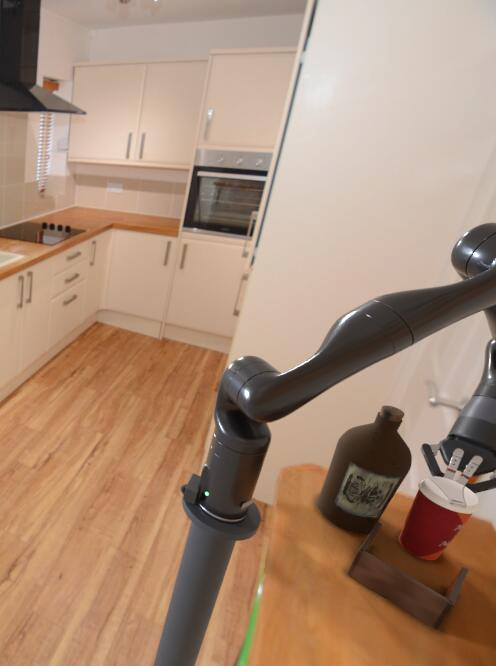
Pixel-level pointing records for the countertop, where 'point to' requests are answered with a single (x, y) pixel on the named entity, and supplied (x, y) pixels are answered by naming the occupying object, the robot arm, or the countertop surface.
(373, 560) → the holder
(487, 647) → the countertop surface
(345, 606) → the countertop surface
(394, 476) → the brown bottle
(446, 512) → the paper cup
